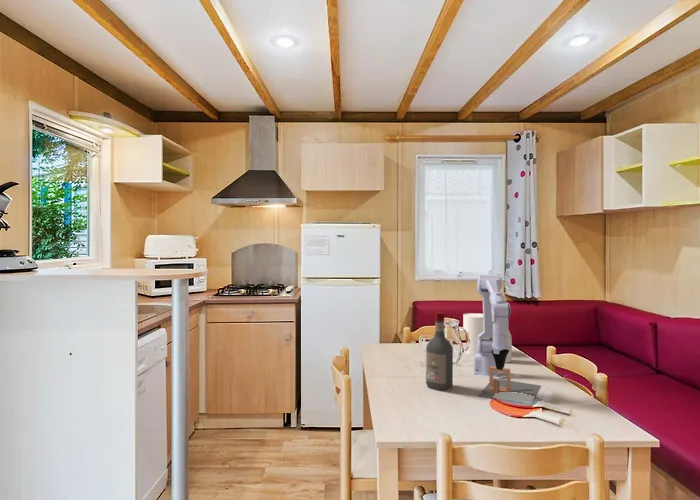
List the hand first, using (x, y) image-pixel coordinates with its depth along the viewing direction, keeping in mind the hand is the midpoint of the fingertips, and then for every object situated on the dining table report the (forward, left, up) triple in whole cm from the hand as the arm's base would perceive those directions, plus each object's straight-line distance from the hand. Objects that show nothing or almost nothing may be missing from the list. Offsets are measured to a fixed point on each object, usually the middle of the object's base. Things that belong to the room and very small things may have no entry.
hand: (500, 368), depth 171 cm
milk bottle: (-9, +48, -10) cm, 49 cm away
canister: (-25, +58, -10) cm, 63 cm away
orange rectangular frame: (0, 0, -9) cm, 9 cm away
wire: (+3, 0, -9) cm, 9 cm away
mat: (+3, +3, -9) cm, 10 cm away
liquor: (-23, -6, -9) cm, 25 cm away
